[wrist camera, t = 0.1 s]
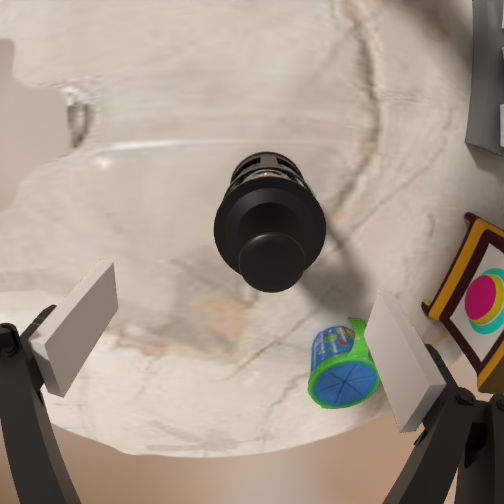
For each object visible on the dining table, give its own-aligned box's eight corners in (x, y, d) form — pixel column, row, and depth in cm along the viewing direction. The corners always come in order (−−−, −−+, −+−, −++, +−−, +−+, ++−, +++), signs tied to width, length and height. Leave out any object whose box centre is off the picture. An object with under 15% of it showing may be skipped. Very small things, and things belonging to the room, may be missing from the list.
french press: (230, 145, 39) (192, 179, 18) (305, 147, 39) (355, 183, 18) (230, 233, 44) (203, 344, 23) (300, 235, 44) (332, 346, 23)
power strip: (468, -36, 24) (482, -44, 20) (508, -12, 25) (523, -17, 21) (464, 142, 37) (481, 145, 33) (504, 157, 37) (521, 162, 33)
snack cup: (324, 295, 47) (337, 337, 38) (383, 311, 48) (404, 351, 39) (287, 368, 53) (290, 413, 44) (340, 379, 54) (351, 422, 45)
